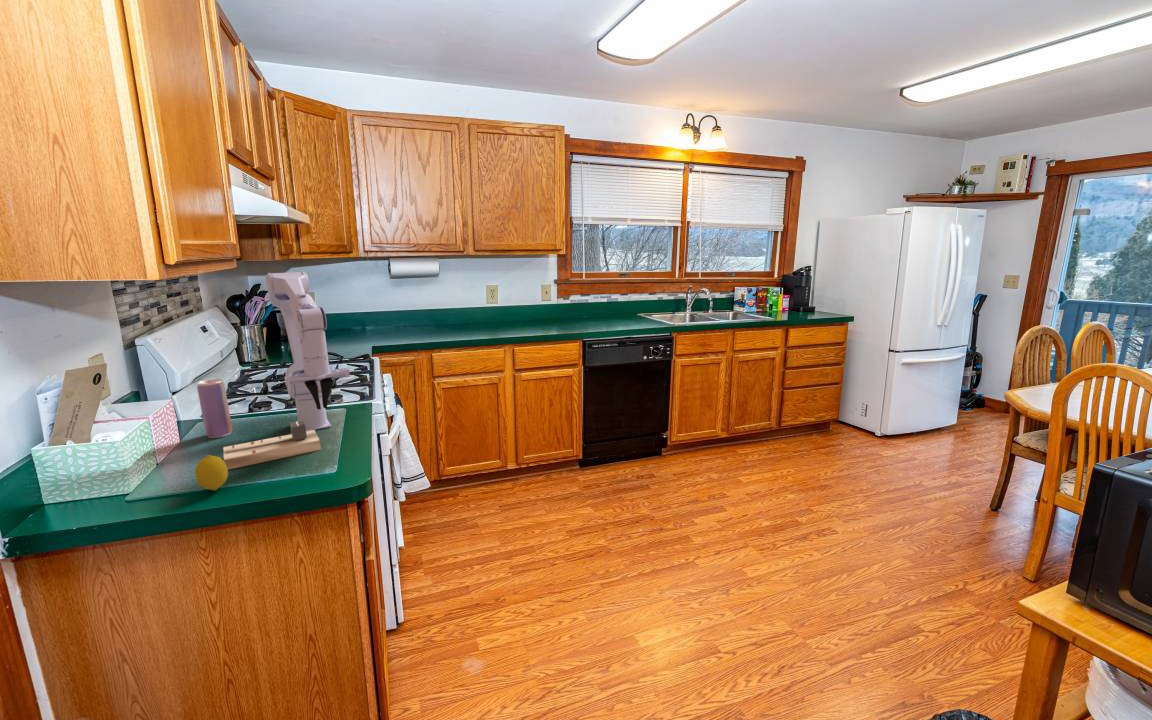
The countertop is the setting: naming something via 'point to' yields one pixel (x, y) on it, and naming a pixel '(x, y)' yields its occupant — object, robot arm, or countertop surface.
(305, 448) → the console
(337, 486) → the countertop surface
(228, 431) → the beverage can
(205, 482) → the lemon
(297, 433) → the fader
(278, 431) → the countertop surface
